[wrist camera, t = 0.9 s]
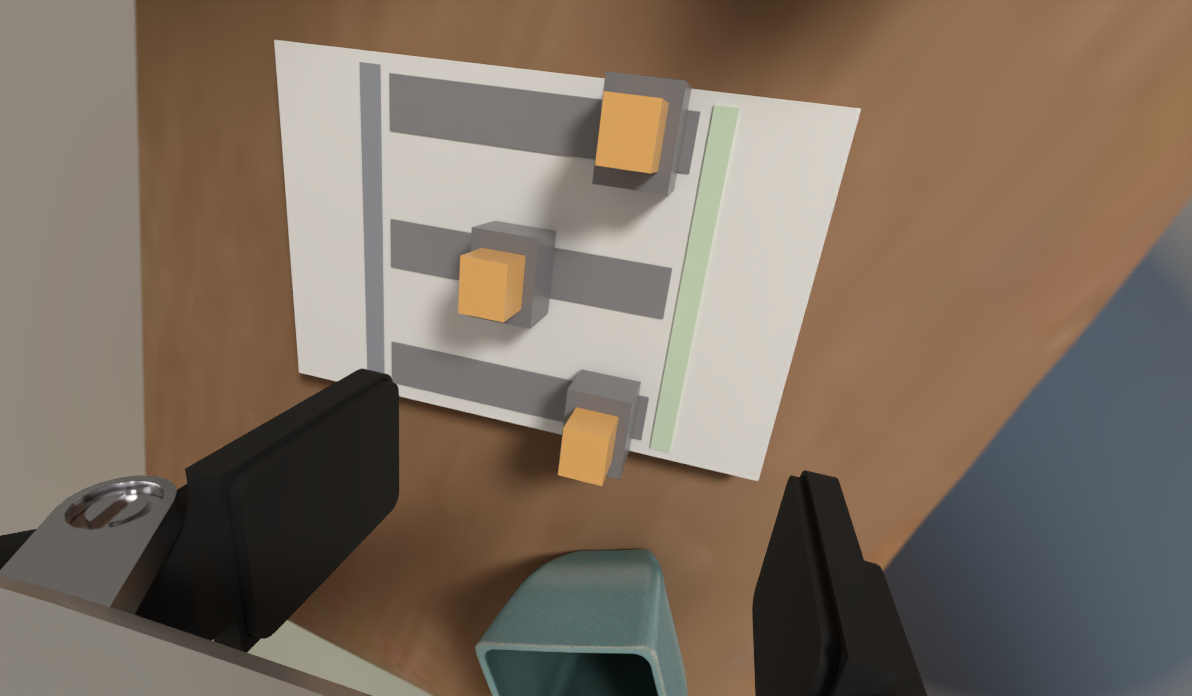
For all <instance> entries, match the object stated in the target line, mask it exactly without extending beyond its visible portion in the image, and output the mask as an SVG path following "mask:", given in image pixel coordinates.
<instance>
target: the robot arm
mask: <svg viewBox="0 0 1192 696" xmlns="http://www.w3.org/2000/svg"><path fill="white" fill-rule="evenodd" d="M185 471H186V477H187V483H188V484H186V485H185V486H183V487H181V488H180V489H178V490H176V487H175V485H174V483H172V482H170V481H169V480H167V479H165V478H161V477H157V476H130V477H122V478H117V479H113V480H109V481H105V482H101V483H98V484H96V485H93V486H91V487H88V488H86V489H83V490H81V491H79V492H78V493H76V494H74V495H72V496H70V497H68V498H67V499H66V500H64V501H63V502H62V503H61V504H60V505H59V506H57V507H56V508H55V509H54V510H53V511H52V513H51V514H50V515H49V516H48V517H47V518H46V519H45V520H44V522H43V523H42V524H41V525H40V526H39V527H38V528H37V529H34V530H28V531H23V532H18V533H12V534H7V535H2V536H0V696H371V695H369V694H365V693H363V692H360V691H357V690H354V689H351V688H348V687H345V686H342V685H339V684H337V683H334V682H331V681H328V680H325V679H322V678H319V677H316V676H313V675H310V674H308V673H305V672H302V671H299V670H296V669H293V668H290V667H287V666H284V665H281V664H278V663H275V662H272V661H270V660H266V659H263V658H261V657H258V656H255V655H251V654H249V653H247V652H248V651H249V650H250V649H251V648H252V647H253V646H254V645H255V644H256V643H257V642H258V641H259V640H260V639H261V638H268V637H269V636H271V635H272V634H273V633H274V632H276V631H277V630H278V629H279V627H280V626H281V625H282V624H283V623H284V622H285V621H286V620H287V619H288V618H289V617H290V616H291V615H292V614H293V613H294V612H295V611H296V610H297V609H298V608H299V607H300V606H301V605H302V604H303V603H304V602H305V600H306V599H307V598H308V597H309V596H310V595H311V594H312V593H313V592H314V591H315V590H316V589H317V588H318V587H319V586H320V585H321V584H322V583H323V582H324V581H325V580H326V579H327V578H328V577H329V575H330V574H331V573H332V572H333V571H334V570H335V569H336V568H337V567H338V566H339V565H340V564H341V563H342V562H343V561H344V560H345V559H346V558H347V557H348V556H349V555H350V554H351V553H352V552H353V550H354V549H355V548H356V547H357V546H358V545H359V544H360V543H361V542H362V541H363V540H364V539H365V538H366V537H367V536H368V535H369V534H370V533H371V532H372V531H373V530H374V529H375V528H376V527H377V525H378V524H379V523H380V522H381V521H382V520H383V519H384V518H385V517H386V516H387V515H388V514H389V513H390V512H391V511H392V510H393V508H394V507H395V505H396V502H397V500H398V496H399V388H398V386H397V384H396V383H393V380H392V378H391V376H390V375H389V374H385V373H381V372H376V371H372V370H368V369H362V368H361V369H359V370H356V371H355V372H353V373H351V374H349V375H348V376H346V377H344V378H343V379H341V380H339V381H337V382H336V383H334V384H332V385H330V386H329V387H327V388H325V389H323V390H322V391H320V392H318V393H316V394H315V395H313V396H311V397H309V398H308V399H306V400H304V401H302V402H301V403H299V404H297V405H295V406H294V407H292V408H290V409H289V410H287V411H285V412H283V413H282V414H280V415H278V416H276V417H275V418H273V419H271V420H269V421H268V422H266V423H264V424H262V425H261V426H259V427H257V428H255V429H254V430H252V431H250V432H248V433H247V434H245V435H243V436H242V437H240V438H238V439H236V440H235V441H233V442H231V443H229V444H228V445H226V446H224V447H222V448H221V449H219V450H217V451H215V452H214V453H212V454H210V455H208V456H207V457H205V458H203V459H201V460H200V461H198V462H196V463H194V464H193V465H191V466H189V467H188V468H186V469H185ZM752 613H753V639H754V666H755V692H756V696H927V694H926V691H925V688H924V686H923V683H922V680H921V677H920V675H919V671H918V669H917V666H916V663H915V660H914V657H913V654H912V652H911V649H910V646H909V643H908V641H907V638H906V635H905V632H904V629H903V626H902V623H901V621H900V618H899V615H898V612H897V610H896V607H895V604H894V601H893V598H892V595H891V593H890V590H889V587H888V584H887V581H886V578H885V576H884V573H883V571H882V569H881V567H880V566H878V565H877V564H875V563H871V562H867V561H864V559H863V556H862V553H861V549H860V546H859V543H858V540H857V537H856V534H855V530H854V527H853V524H852V521H851V518H850V515H849V512H848V508H847V505H846V502H845V499H844V496H843V493H842V489H841V486H840V483H839V481H838V479H837V478H835V477H831V476H827V475H822V474H818V473H814V472H809V471H805V470H804V471H803V472H802V474H801V476H800V477H796V476H792V475H791V476H790V477H789V479H788V482H787V485H786V488H785V492H784V495H783V498H782V502H781V505H780V508H779V512H778V515H777V518H776V522H775V525H774V528H773V532H772V535H771V538H770V542H769V545H768V548H767V552H766V555H765V558H764V562H763V565H762V568H761V572H760V575H759V578H758V582H757V585H756V588H755V592H754V598H753V607H752ZM213 639H214V642H213V641H212V640H213Z"/></svg>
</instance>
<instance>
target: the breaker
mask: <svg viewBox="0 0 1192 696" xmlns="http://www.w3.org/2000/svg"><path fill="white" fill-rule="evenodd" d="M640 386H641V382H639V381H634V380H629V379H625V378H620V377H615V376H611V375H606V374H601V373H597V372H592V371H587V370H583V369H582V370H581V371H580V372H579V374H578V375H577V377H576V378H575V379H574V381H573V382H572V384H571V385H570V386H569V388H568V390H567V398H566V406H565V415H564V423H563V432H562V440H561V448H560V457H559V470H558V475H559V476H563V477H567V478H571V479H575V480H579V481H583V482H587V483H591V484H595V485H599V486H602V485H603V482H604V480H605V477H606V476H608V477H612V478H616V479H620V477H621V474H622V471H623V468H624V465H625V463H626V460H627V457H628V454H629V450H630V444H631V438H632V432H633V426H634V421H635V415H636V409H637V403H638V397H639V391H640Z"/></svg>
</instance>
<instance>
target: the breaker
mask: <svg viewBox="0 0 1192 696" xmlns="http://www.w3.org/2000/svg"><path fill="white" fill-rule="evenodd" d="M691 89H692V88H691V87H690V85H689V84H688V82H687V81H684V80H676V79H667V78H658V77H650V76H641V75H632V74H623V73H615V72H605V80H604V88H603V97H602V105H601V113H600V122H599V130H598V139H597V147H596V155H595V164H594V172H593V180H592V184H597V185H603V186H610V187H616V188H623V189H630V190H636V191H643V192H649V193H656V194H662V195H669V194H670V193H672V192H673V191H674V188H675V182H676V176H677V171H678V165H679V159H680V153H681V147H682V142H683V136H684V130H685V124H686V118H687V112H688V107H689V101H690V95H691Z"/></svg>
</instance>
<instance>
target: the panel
mask: <svg viewBox="0 0 1192 696" xmlns="http://www.w3.org/2000/svg"><path fill="white" fill-rule="evenodd" d="M274 43H275V57H276V70H277V83H278V97H279V110H280V124H281V137H282V150H283V164H284V177H285V191H286V204H287V217H288V231H289V244H290V258H291V271H292V284H293V298H294V311H295V325H296V338H297V351H298V365H299V373H303V374H307V375H312V376H316V377H320V378H324V379H328V380H333V381H339V380H341V379H343V378H344V377H346V376H348V375H349V374H351V373H353V372H355V371H356V370H359V369H361V368H362V369H368V370H372V371H376V372H381V373H385V374H389V375H390V376H391V378H392V380H393V383H396V384H397V386H398V388H399V396H400V397H405V398H409V399H413V400H417V401H421V402H426V403H430V404H434V405H438V406H443V407H447V408H451V409H455V410H459V411H464V412H468V413H472V414H476V415H481V416H485V417H489V418H493V419H497V420H502V421H506V422H510V423H514V424H519V425H523V426H527V427H531V428H535V429H540V430H544V431H548V432H552V433H557V434H561V435H562V432H563V423H564V415H565V406H566V398H567V390H568V388H569V386H570V385H571V384H572V382H573V381H574V379H575V378H576V377H577V375H578V374H579V372H580V371H581V370H582V369H583V370H587V371H592V372H597V373H601V374H606V375H611V376H615V377H620V378H625V379H629V380H634V381H639V382H641V386H640V391H639V397H638V403H637V409H636V415H635V421H634V426H633V432H632V438H631V444H630V450H629V451H633V452H637V453H641V454H645V455H650V456H654V457H658V458H662V459H666V460H671V461H675V462H679V463H683V464H688V465H692V466H696V467H700V468H704V469H709V470H713V471H717V472H721V473H726V474H730V475H734V476H738V477H743V478H747V479H751V480H755V481H758V480H759V476H760V473H761V469H762V465H763V462H764V458H765V455H766V451H767V447H768V444H769V440H770V436H771V433H772V429H773V426H774V422H775V418H776V415H777V411H778V408H779V404H780V400H781V397H782V393H783V389H784V386H785V382H786V379H787V375H788V371H789V368H790V364H791V360H792V357H793V353H794V350H795V346H796V342H797V339H798V335H799V332H800V328H801V324H802V321H803V317H804V313H805V310H806V306H807V303H808V299H809V295H810V292H811V288H812V284H813V281H814V277H815V274H816V270H817V266H818V263H819V259H820V256H821V252H822V248H823V245H824V241H825V237H826V234H827V230H828V227H829V223H830V219H831V216H832V212H833V208H834V205H835V201H836V198H837V194H838V190H839V187H840V183H841V180H842V176H843V172H844V169H845V165H846V161H847V158H848V154H849V151H850V147H851V143H852V140H853V136H854V133H855V129H856V125H857V122H858V118H859V114H860V111H861V109H859V108H850V107H842V106H833V105H825V104H816V103H808V102H799V101H791V100H782V99H774V98H765V97H757V96H748V95H740V94H731V93H723V92H714V91H706V90H697V89H691V95H690V101H689V107H688V112H687V118H686V124H685V130H684V136H683V142H682V147H681V153H680V159H679V165H678V171H677V176H676V182H675V188H674V191H673V192H672V193H670V194H669V195H662V194H656V193H649V192H643V191H636V190H630V189H623V188H616V187H610V186H603V185H597V184H592V180H593V172H594V164H595V155H596V147H597V139H598V130H599V122H600V113H601V105H602V97H603V88H604V80H605V79H603V78H595V77H586V76H578V75H569V74H561V73H552V72H544V71H535V70H527V69H518V68H510V67H501V66H493V65H484V64H476V63H467V62H459V61H450V60H442V59H433V58H425V57H416V56H408V55H399V54H391V53H382V52H374V51H365V50H357V49H348V48H340V47H331V46H323V45H314V44H305V43H297V42H288V41H280V40H274ZM492 221H500V222H506V223H512V224H518V225H524V226H530V227H536V228H542V229H548V230H553V231H556V239H555V249H554V259H553V269H552V279H551V289H550V299H549V309H548V314H547V315H546V316H545V317H544V318H542V319H541V320H540V321H539V322H538V323H537V324H535V325H534V326H533V327H532V328H531V329H529V328H524V327H519V326H514V325H509V324H504V323H499V322H494V321H489V320H485V319H480V318H475V317H470V316H468V315H465V314H460V313H458V303H459V276H460V256H461V255H463V254H466V253H469V252H471V231H472V227H474V226H478V225H481V224H485V223H488V222H492Z"/></svg>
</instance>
